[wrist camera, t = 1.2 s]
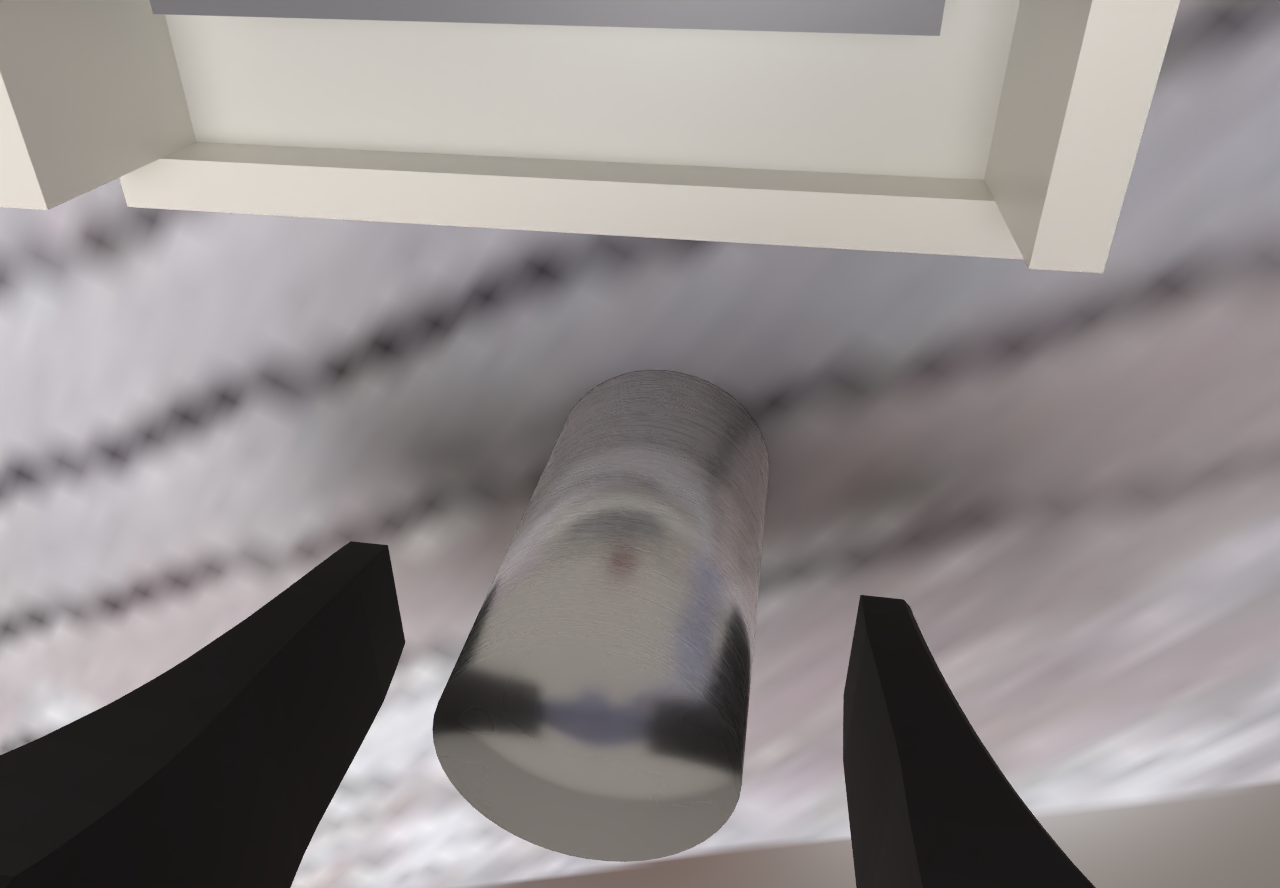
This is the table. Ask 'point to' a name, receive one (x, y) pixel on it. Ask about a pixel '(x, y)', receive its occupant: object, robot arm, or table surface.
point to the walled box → (601, 115)
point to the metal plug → (619, 630)
